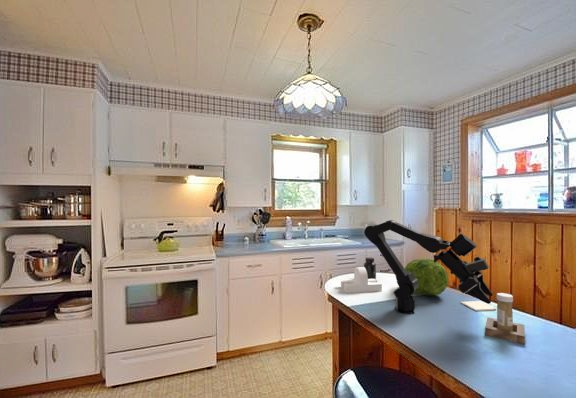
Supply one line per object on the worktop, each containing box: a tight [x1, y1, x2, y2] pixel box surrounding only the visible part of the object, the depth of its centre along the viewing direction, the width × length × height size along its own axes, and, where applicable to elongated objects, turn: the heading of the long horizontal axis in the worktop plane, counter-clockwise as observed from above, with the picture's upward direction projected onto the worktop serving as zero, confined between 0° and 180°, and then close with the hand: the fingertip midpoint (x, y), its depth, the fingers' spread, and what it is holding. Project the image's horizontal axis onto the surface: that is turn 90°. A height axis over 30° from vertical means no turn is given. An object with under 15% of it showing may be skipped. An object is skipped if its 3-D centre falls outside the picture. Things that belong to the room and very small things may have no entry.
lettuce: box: [404, 258, 449, 297], centre depth 143 cm, size 17×23×17 cm
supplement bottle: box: [363, 257, 377, 280], centre depth 168 cm, size 7×7×12 cm
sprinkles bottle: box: [496, 292, 514, 331], centre depth 100 cm, size 5×5×14 cm
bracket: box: [340, 266, 383, 294], centre depth 150 cm, size 19×10×11 cm, turn 95°
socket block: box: [484, 317, 526, 345], centre depth 100 cm, size 11×11×2 cm
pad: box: [460, 300, 497, 312], centre depth 125 cm, size 9×9×1 cm
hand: (490, 299), depth 103 cm, fingers open, 9 cm apart
